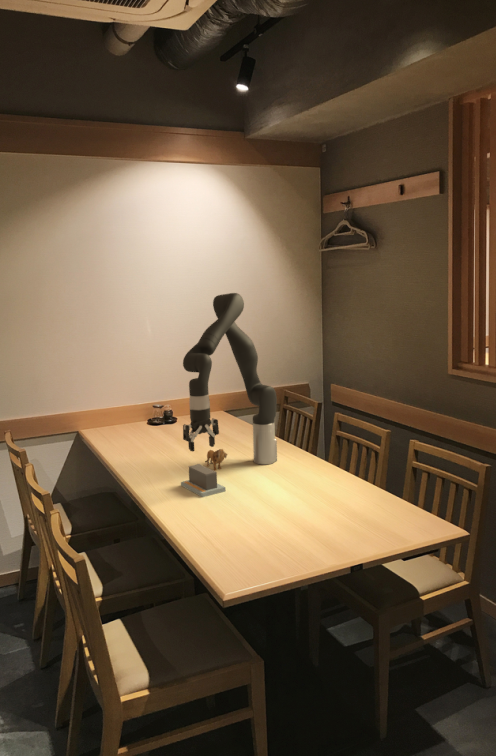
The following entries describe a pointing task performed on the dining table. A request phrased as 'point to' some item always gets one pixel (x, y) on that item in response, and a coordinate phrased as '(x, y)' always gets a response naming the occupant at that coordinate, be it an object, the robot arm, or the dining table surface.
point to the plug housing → (203, 477)
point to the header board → (202, 491)
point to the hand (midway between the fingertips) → (202, 448)
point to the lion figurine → (216, 458)
